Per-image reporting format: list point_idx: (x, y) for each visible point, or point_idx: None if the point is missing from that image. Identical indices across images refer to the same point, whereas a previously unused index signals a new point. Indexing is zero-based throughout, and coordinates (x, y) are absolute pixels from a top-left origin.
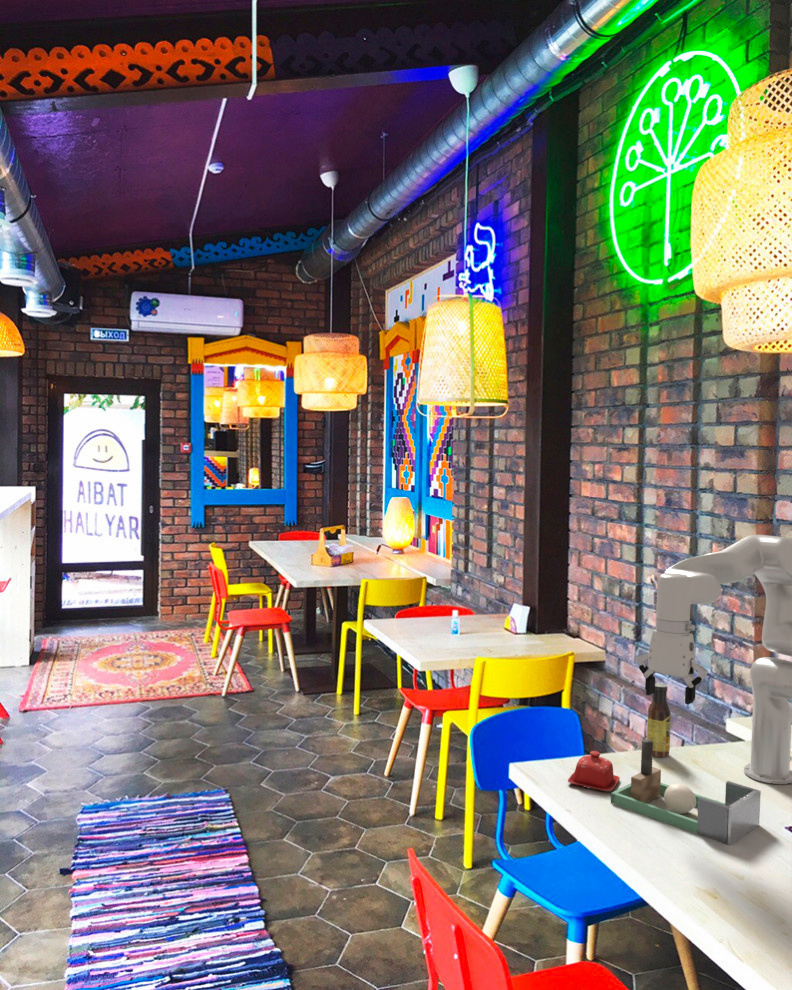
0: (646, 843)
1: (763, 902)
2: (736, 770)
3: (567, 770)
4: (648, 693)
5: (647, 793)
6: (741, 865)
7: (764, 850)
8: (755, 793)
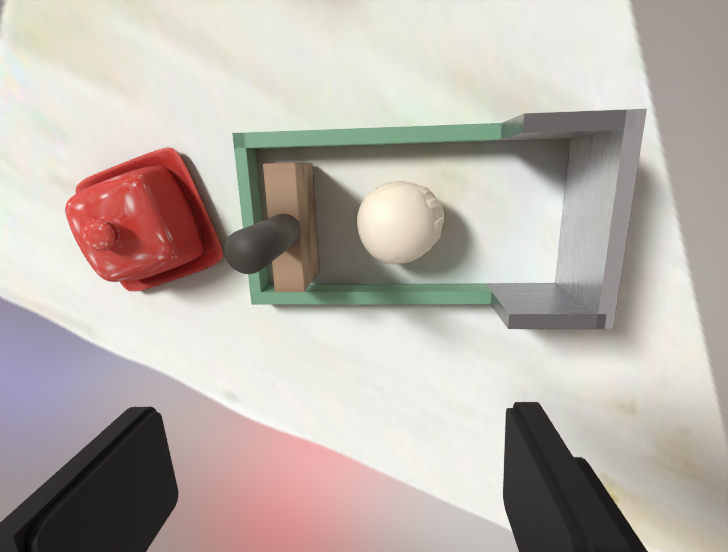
0: (427, 411)
1: (692, 461)
2: None
3: (59, 203)
4: (168, 509)
5: (312, 237)
6: (616, 362)
7: (639, 259)
8: (637, 148)
